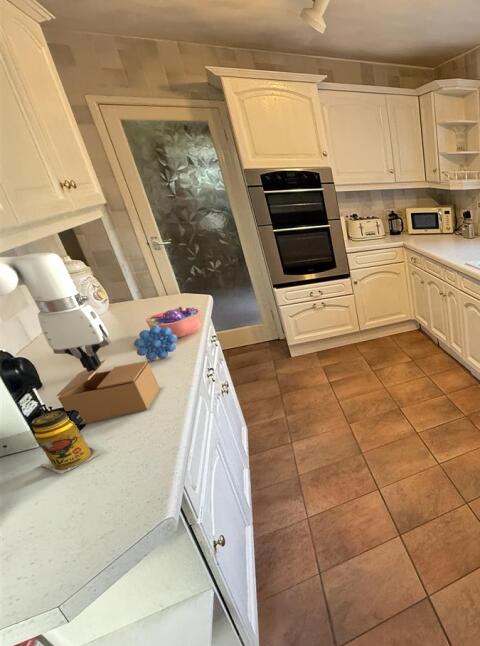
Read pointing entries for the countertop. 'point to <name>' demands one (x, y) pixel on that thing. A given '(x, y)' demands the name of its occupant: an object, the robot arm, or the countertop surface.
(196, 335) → the countertop surface
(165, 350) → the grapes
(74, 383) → the flap
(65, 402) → the carton
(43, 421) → the condiment
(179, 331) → the cell model
